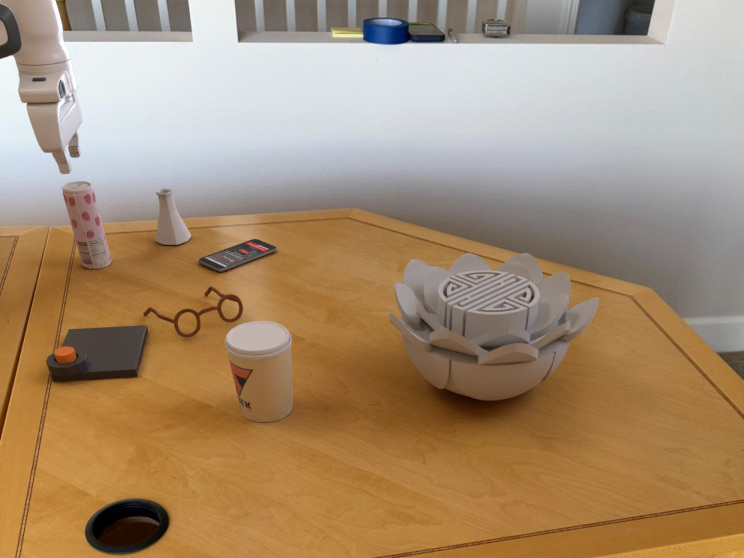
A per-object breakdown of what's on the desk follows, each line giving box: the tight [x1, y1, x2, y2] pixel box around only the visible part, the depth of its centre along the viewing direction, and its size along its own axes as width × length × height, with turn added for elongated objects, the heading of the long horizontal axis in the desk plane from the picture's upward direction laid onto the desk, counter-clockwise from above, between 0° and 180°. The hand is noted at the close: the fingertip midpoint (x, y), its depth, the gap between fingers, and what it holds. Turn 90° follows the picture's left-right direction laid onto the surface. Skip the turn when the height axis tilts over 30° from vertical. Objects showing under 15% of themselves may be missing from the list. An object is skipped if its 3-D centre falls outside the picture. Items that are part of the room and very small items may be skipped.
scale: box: [45, 324, 149, 383], centre depth 126 cm, size 14×16×3 cm
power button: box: [53, 346, 77, 364], centre depth 121 cm, size 3×3×2 cm
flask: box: [154, 187, 192, 246], centre depth 161 cm, size 7×7×10 cm
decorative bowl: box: [388, 252, 600, 402], centre depth 118 cm, size 30×30×15 cm
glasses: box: [142, 286, 244, 339], centre depth 136 cm, size 13×13×5 cm
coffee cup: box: [224, 320, 294, 423], centre depth 112 cm, size 9×9×12 cm
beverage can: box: [61, 180, 112, 270], centre depth 150 cm, size 6×6×15 cm
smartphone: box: [198, 238, 277, 273], centre depth 157 cm, size 7×1×15 cm
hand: (71, 164), depth 142 cm, fingers open, 8 cm apart
